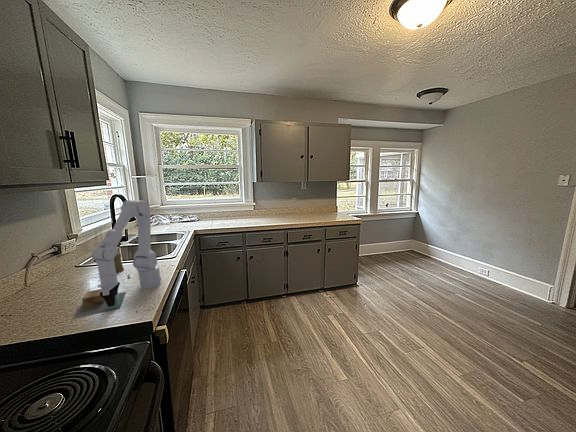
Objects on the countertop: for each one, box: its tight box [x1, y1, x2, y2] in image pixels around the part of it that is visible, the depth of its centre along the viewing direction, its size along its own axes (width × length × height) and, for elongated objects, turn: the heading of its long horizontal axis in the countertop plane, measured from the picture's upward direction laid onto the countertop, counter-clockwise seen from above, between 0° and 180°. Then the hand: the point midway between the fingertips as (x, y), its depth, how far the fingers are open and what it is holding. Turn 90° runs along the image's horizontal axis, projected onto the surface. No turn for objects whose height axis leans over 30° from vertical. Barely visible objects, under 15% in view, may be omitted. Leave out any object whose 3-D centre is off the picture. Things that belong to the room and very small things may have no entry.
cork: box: [114, 252, 125, 274], centre depth 140 cm, size 6×6×11 cm
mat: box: [71, 291, 127, 320], centre depth 106 cm, size 16×16×1 cm
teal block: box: [104, 294, 121, 310], centre depth 104 cm, size 4×4×4 cm
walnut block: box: [81, 288, 105, 307], centre depth 108 cm, size 7×7×4 cm
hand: (112, 302), depth 104 cm, fingers closed on teal block, 4 cm apart
